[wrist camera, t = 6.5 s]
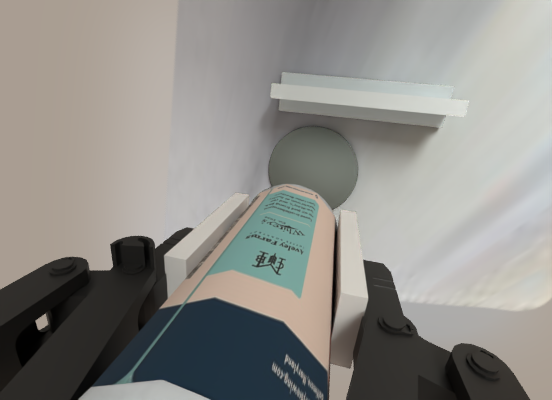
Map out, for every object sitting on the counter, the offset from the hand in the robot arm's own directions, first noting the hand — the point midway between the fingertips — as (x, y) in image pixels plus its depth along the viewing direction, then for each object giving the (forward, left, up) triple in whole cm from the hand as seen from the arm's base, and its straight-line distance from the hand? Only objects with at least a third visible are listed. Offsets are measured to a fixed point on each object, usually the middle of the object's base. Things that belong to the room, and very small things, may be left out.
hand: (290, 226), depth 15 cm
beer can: (0, 0, -1) cm, 1 cm away
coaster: (0, 0, -12) cm, 12 cm away
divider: (-7, +3, -12) cm, 14 cm away
